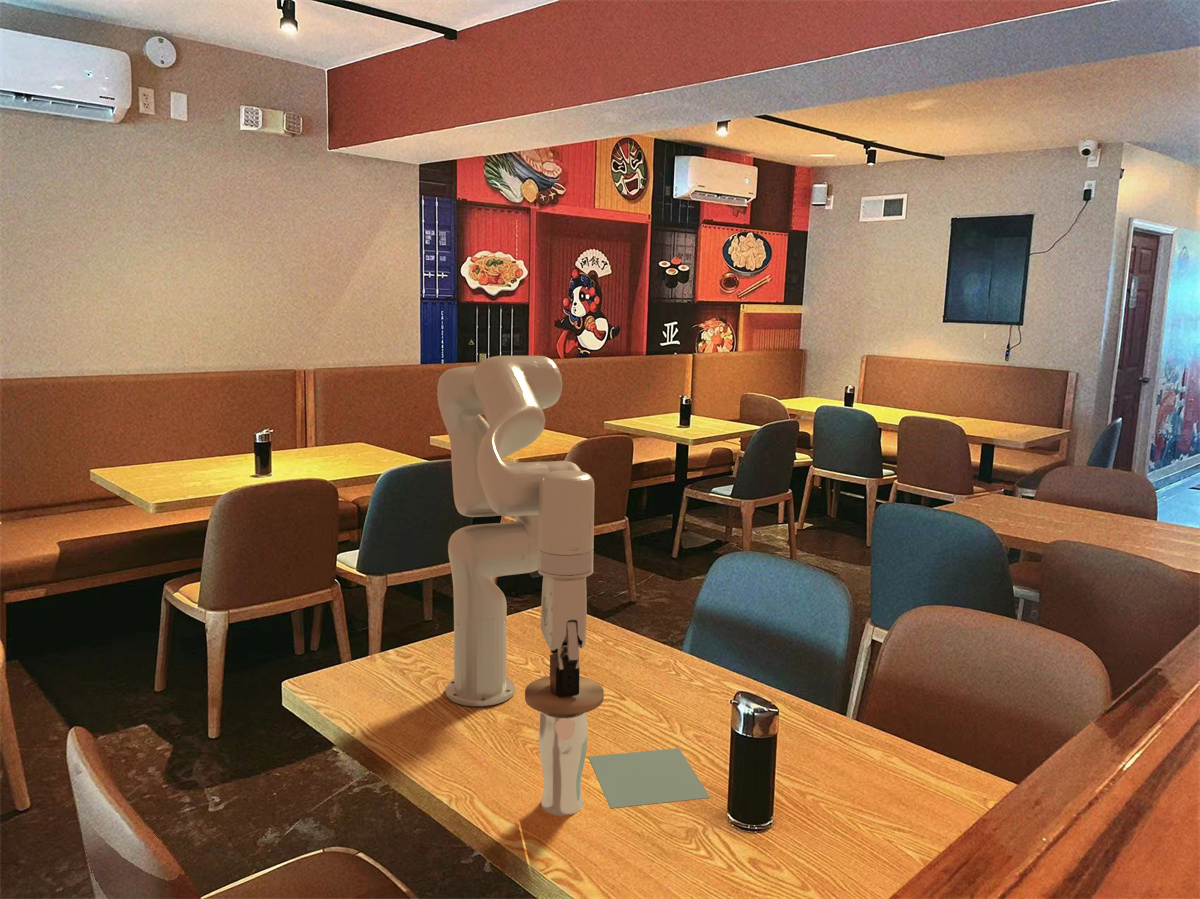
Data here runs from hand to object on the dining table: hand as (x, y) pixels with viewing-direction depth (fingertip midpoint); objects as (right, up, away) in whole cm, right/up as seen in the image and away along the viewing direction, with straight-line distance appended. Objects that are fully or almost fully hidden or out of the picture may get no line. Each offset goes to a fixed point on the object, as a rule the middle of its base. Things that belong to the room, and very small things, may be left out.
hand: (564, 686), depth 124 cm
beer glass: (0, -18, +3) cm, 18 cm away
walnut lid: (0, -2, 0) cm, 2 cm away
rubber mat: (+12, -17, +11) cm, 23 cm away
